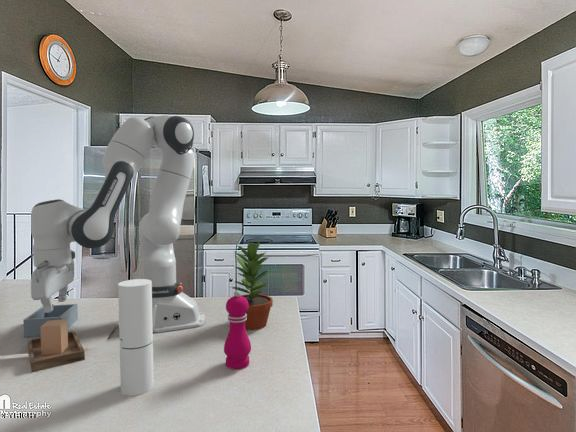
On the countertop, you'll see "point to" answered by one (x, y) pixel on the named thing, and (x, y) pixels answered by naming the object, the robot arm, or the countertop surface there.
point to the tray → (52, 360)
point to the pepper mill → (237, 333)
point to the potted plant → (253, 287)
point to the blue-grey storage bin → (49, 318)
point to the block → (54, 337)
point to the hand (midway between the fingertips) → (56, 306)
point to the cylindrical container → (136, 336)
